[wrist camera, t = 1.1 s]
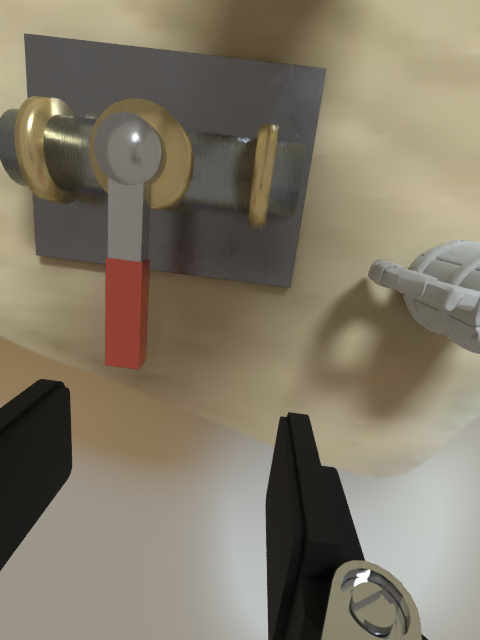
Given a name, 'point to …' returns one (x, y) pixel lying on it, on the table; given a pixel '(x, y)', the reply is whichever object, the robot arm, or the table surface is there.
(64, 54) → the valve body
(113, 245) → the lever
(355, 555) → the robot arm
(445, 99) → the table surface
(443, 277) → the mug
